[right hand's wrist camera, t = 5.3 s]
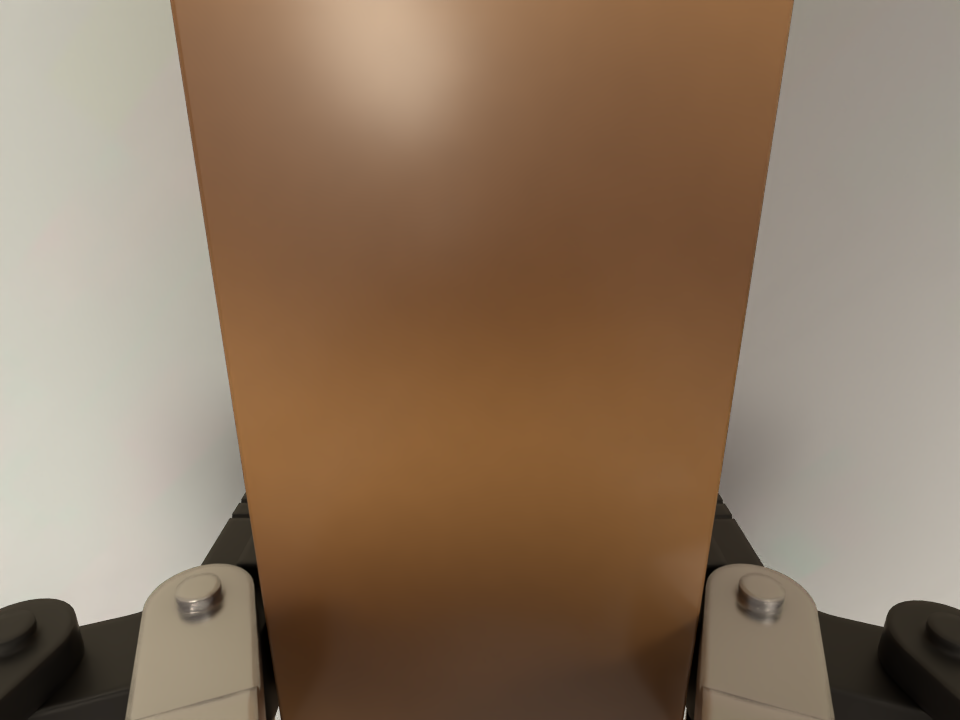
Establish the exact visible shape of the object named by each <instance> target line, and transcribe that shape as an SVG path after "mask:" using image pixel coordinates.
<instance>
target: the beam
mask: <svg viewBox="0 0 960 720" xmlns="http://www.w3.org/2000/svg"><path fill="white" fill-rule="evenodd" d="M170 2H171V9H172V15H173V22H174V28H175V35H176V41H177V48H178V54H179V61H180V67H181V74H182V80H183V87H184V93H185V100H186V106H187V113H188V119H189V126H190V132H191V138H192V145H193V151H194V158H195V164H196V171H197V177H198V184H199V190H200V197H201V203H202V210H203V216H204V223H205V229H206V236H207V242H208V249H209V255H210V262H211V268H212V275H213V281H214V288H215V294H216V301H217V307H218V314H219V320H220V327H221V333H222V340H223V346H224V353H225V359H226V366H227V372H228V379H229V385H230V392H231V398H232V405H233V411H234V418H235V424H236V431H237V437H238V444H239V450H240V457H241V463H242V469H243V476H244V482H245V489H246V495H247V502H248V508H249V515H250V521H251V528H252V534H253V541H254V547H255V554H256V560H257V567H258V573H259V580H260V586H261V593H262V599H263V606H264V612H265V619H266V625H267V632H268V638H269V645H270V651H271V658H272V664H273V671H274V677H275V684H276V690H277V697H278V703H279V710H280V716H281V720H683V718H684V711H685V705H686V698H687V692H688V685H689V679H690V672H691V666H692V659H693V653H694V646H695V640H696V633H697V627H698V620H699V614H700V607H701V601H702V594H703V588H704V581H705V575H706V568H707V562H708V555H709V549H710V542H711V536H712V529H713V523H714V516H715V510H716V503H717V497H718V490H719V484H720V477H721V471H722V464H723V458H724V451H725V445H726V438H727V432H728V425H729V419H730V412H731V406H732V399H733V393H734V386H735V380H736V373H737V367H738V360H739V354H740V347H741V341H742V334H743V328H744V321H745V315H746V308H747V302H748V295H749V289H750V282H751V276H752V269H753V263H754V256H755V250H756V243H757V237H758V230H759V224H760V217H761V211H762V204H763V198H764V191H765V185H766V178H767V172H768V165H769V159H770V152H771V146H772V139H773V133H774V126H775V120H776V113H777V107H778V100H779V94H780V87H781V81H782V74H783V68H784V61H785V55H786V48H787V42H788V35H789V29H790V22H791V16H792V9H793V3H794V0H170Z"/></svg>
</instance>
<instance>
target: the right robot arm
mask: <svg viewBox="0 0 960 720" xmlns="http://www.w3.org/2000/svg"><path fill="white" fill-rule="evenodd" d="M241 500H242V501H241V503H239V504H238V506H237V507H236V509H235V511H234V512H233V514H232V518H230V519H229V520H228V522H227V524H226V525H225V527H224V529H223V530H222V532H221V534H220V535H219V537H218V538H217V540H216V542H215V543H214V545H213V547H212V548H211V550H210V551H209V553H208V555H207V556H206V558H205V560H204V561H203V563H202V565H201V566H198V567H194V568H191V569H188V570H185V571H183V572H181V573H178V574H176V575H174V576H173V577H171V578H169V579H168V580H166V581H165V582H163V583H162V584H161V585H159V586H158V587H157V588H156V589H155V590H154V591H153V592H152V593H151V595H150V596H149V597H148V599H147V601H146V602H145V604H144V608H143V611H142V612H139V613H135V614H132V615H128V616H124V617H119V618H115V619H110V620H106V621H101V622H97V623H93V624H88V625H84V626H79V624H78V621H77V617H76V614H75V611H74V609H73V608H72V607H71V606H70V605H69V604H68V603H66V602H64V601H61V600H58V599H34V600H28V601H23V602H19V603H16V604H12V605H9V606H6V607H4V608H1V609H0V720H275V715H276V712H277V709H278V706H279V703H278V697H277V690H276V684H275V677H274V671H273V664H272V658H271V651H270V645H269V638H268V632H267V625H266V619H265V612H264V606H263V599H262V593H261V586H260V580H259V573H258V567H257V560H256V554H255V547H254V541H253V534H252V528H251V521H250V515H249V508H248V502H247V495H246V493H245V494H244V496H243V498H242V499H241ZM686 708H687V709H686V716H685V720H960V610H959V609H956V608H953V607H950V606H947V605H944V604H940V603H935V602H929V601H915V600H913V601H905V602H901V603H898V604H896V605H895V606H893V607H892V608H891V609H890V610H889V612H888V614H887V617H886V621H885V624H884V627H881V626H876V625H872V624H867V623H863V622H858V621H854V620H850V619H845V618H841V617H837V616H833V615H829V614H826V613H823V612H820V611H817V608H816V604H815V602H814V601H813V599H812V597H811V596H810V595H809V593H808V592H807V591H806V590H805V589H804V588H803V587H802V586H801V585H799V584H798V583H797V582H795V581H794V580H792V579H791V578H789V577H787V576H786V575H784V574H782V573H779V572H777V571H775V570H772V569H769V568H766V567H764V566H763V564H762V563H761V561H760V559H759V558H758V556H757V555H756V553H755V551H754V550H753V548H752V547H751V545H750V543H749V542H748V540H747V539H746V537H745V535H744V534H743V532H742V530H741V529H740V527H739V526H738V524H737V522H736V521H735V519H732V514H731V513H730V511H729V510H728V508H727V506H726V505H725V504H723V500H722V498H721V497H720V495H719V493H718V497H717V503H716V510H715V516H714V523H713V529H712V536H711V542H710V549H709V555H708V562H707V568H706V575H705V581H704V588H703V594H702V601H701V607H700V614H699V620H698V627H697V633H696V640H695V646H694V653H693V659H692V666H691V672H690V679H689V685H688V692H687V698H686Z"/></svg>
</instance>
